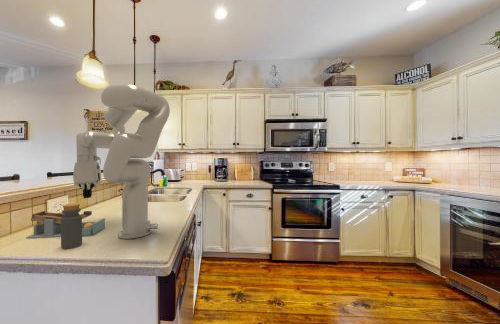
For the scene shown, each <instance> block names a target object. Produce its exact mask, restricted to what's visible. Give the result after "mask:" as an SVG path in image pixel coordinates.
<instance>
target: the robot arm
mask: <svg viewBox="0 0 500 324" xmlns="http://www.w3.org/2000/svg"><path fill="white" fill-rule="evenodd" d="M100 99H101V102H102V104H103V105H104V106H106V107H108V108H107V110H106V111H105V112H104V114H103V118H104V120H105V122H107V124H109V125H110V126H112V127H113V128H114V129H113V130H112V131H111V132H103V131H95V130H91V131H90V130H89V131H85V132H78V133H77V134H76V138H75V139H76V140H75V141H76V142H75V143H76V162H74V167H73V173H72V174H73V175H72V179H73V185H74V186H75V187H79V188H80V189H81V190H82V196H83V199H90V198H92V196H93V189H94V187H96V186H100V185H101V181H102V176H103V178H104V179H105V180H104V181H106V182H108V183H110V184H123V183H124V184H125V185H124V187H123V189H122V194H121V196H122V198H121V199H122V202H121V203H122V204H121V210H122V211H121V216H122V218H121V220H122V221H121V222H122V223H121V225H122V226H121V227H122V229H121V230H120V231H118V232H117V237H118V238H120V239H123V240H124V239H125V240H131V239H138V238H141V237H145V236H147V235H150V234H151V233H153V230H158V229H159V224H158V223H151V220H149V181H150V176H151V172H152V171H151V165H150V164H149V162H148V161H146V160H145V159H147V158H151V157H152V155H153V154H154V152H155V150H156V147H157V145H158V142H159V139H160V138H161V137H160V136H161V135H162V131H163V129H164V127H165V125H166V123H167V122H168V120H169V117H170V112H171V109H170V104H169V102H168V100H167V99H166V98H165V97H163V95H161V94H158V93H156V92H155V91H152V90H150V89H146V88H143V87H141V86H138V85H134V84H113V85H112V84H111V85H108V86H107V87H105V88H104V89H103V90H102V92H101V95H100ZM137 111H141V112H145V113H148V115H146V116H145V117H143V119H141V121H140V123H139V124H138V128H137V130H136V131H135V133H130V132H126V128H125V125H126V123H127V122H129V120H130V119H131V118H132V117H133V115H134V114H135V113H136V112H137ZM97 149H108V152H107V155H106V158H105V161H104V165H103V169H102V172H101V166H100V165H101V164H100V163H99V161H98V160H100V156H98V155H97ZM102 174H103V175H102Z"/></svg>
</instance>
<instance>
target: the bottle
mask: <svg viewBox="0 0 500 324" xmlns="http://www.w3.org/2000/svg"><path fill="white" fill-rule="evenodd" d="M80 204H81V203H78V202H77V203H76V202H75V203H66V204H63V205H62V209H63V210H61V214H64V216H63V217H62V218H61V237H60V248H61V249H62V250H71V249H75V248H77V247H78V248H79V247H80V246H81V245H82V244H83V236H82V222H83V219H82V215H81V214H80V212H81V210H82V209H81V207H80V206H81V205H80Z"/></svg>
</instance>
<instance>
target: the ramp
mask: <svg viewBox="0 0 500 324" xmlns="http://www.w3.org/2000/svg"><path fill="white" fill-rule="evenodd" d="M92 213H93V211H92V210H84V211H83V213H82V214H80V215H82V220H83V219H86V218H88V217H90V216H92V215H93V214H92ZM63 216H64V214H63V213H60V212H59V213H58V212H48V211H45V210H42V211H40V212H34V213H32V214H31V219H30V221H31V222H36V225H44V220H46V219H54V223H58V224H61V218H62V217H63Z"/></svg>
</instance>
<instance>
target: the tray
mask: <svg viewBox="0 0 500 324" xmlns="http://www.w3.org/2000/svg"><path fill="white" fill-rule="evenodd" d="M87 223H92V224H91V225H90V228H84V225H85V224H87ZM104 229H106V218H105V217H103V218H101V219H99V220H98V221H88V222H86V221H85V222H83V221H82V237H92V236H93V237H94V236H95V235H96V234H98V233H100V232H101V231H102V230H104Z"/></svg>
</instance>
